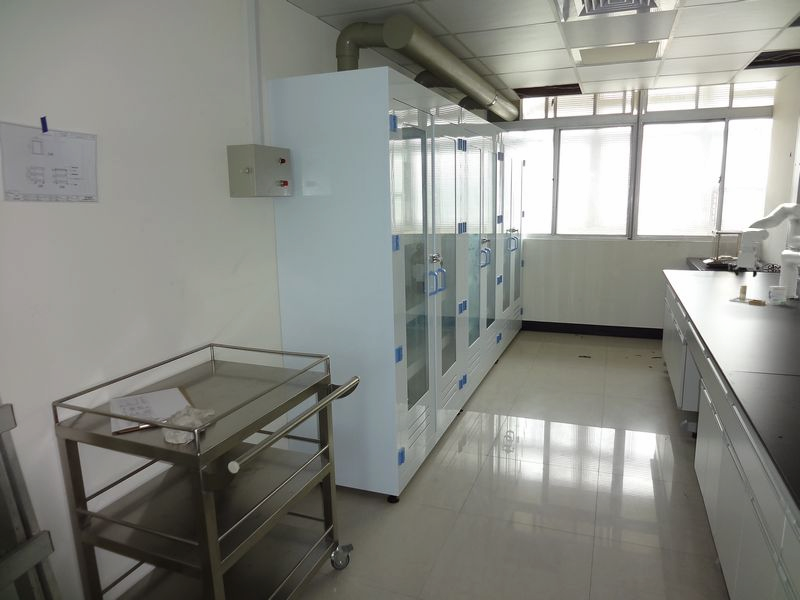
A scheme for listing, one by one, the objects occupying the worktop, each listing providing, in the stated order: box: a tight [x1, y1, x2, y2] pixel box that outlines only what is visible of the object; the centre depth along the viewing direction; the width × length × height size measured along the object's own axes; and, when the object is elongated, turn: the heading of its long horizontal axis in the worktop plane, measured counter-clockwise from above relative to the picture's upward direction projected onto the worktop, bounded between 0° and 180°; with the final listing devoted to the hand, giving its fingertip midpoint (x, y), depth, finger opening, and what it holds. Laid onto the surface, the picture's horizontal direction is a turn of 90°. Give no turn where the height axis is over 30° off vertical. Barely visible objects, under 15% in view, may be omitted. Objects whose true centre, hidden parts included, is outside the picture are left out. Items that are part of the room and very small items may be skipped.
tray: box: [729, 296, 756, 304], centre depth 349 cm, size 12×11×2 cm
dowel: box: [739, 284, 748, 301], centre depth 348 cm, size 3×3×10 cm
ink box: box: [766, 285, 788, 306], centre depth 337 cm, size 9×5×12 cm, turn 84°
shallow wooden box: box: [748, 298, 767, 307], centre depth 338 cm, size 7×7×3 cm
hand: (745, 276), depth 347 cm, fingers open, 9 cm apart
